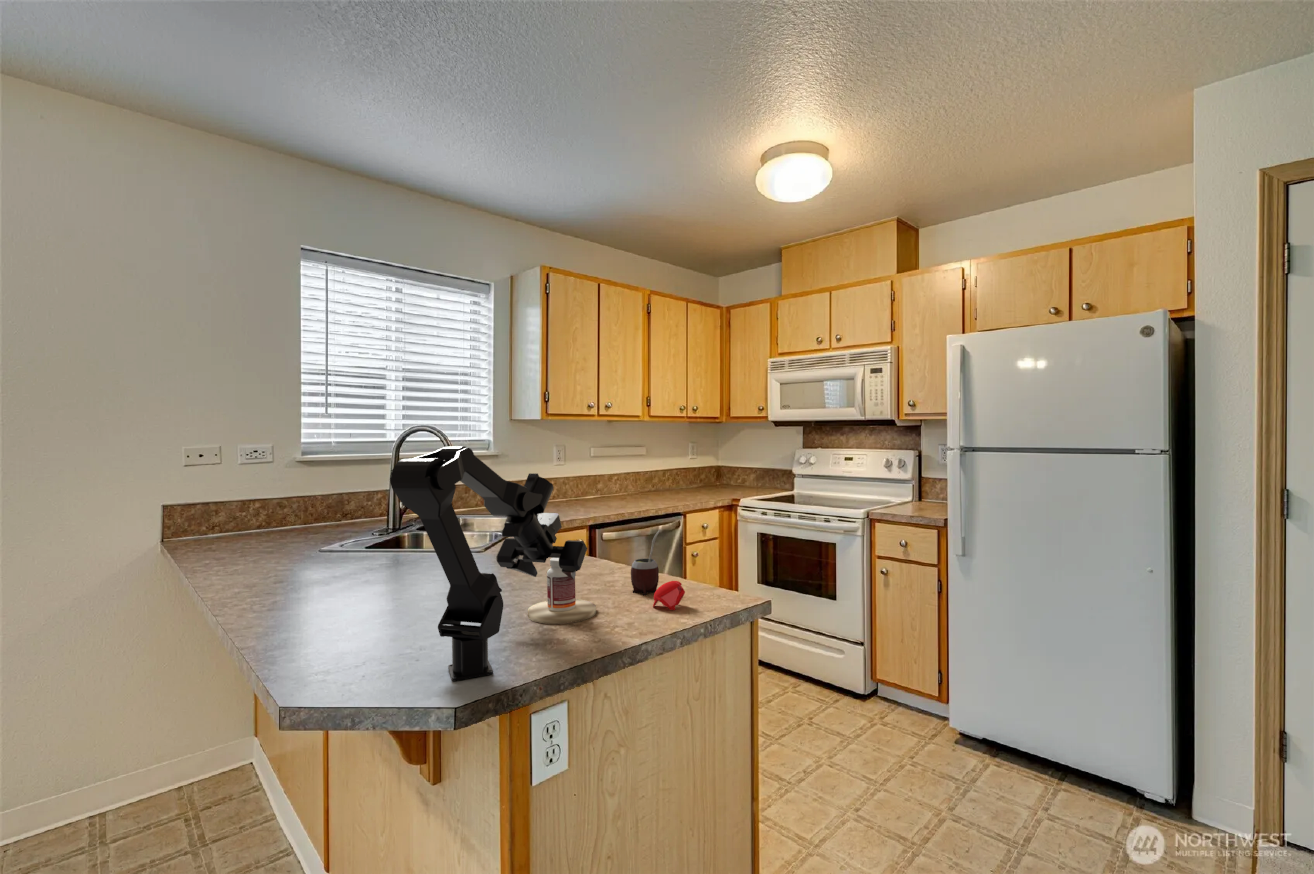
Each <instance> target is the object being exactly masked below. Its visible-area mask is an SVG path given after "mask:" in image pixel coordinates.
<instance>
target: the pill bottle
mask: <svg viewBox="0 0 1314 874" xmlns="http://www.w3.org/2000/svg"><path fill="white" fill-rule="evenodd" d="M549 565H550V568H549V569H548V570H547V572H546V592H547V593H546V594H547V595H546V596H547V598H546V599H547V600H546V601H547V602H548V609H549V610H551V611H568V610H571V609H573V608H574V607H575V605H576V599H577V598H576V578H575V579H571V578H570V577H568V576H567V575H566V574H564V573H563V572H562V569H561V568H560V566H559V558H550V559H549Z"/></svg>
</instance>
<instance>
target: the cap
mask: <svg viewBox="0 0 1314 874" xmlns="http://www.w3.org/2000/svg"><path fill="white" fill-rule="evenodd" d="M682 585H683V584H682V582H681V581H679V580H671V581H667V582H664V583H663V584H662V585H660V586H659V587H657V590H656V592H655V593H653V601H654V602H653V604H652V607H653V608H654V607H655V606H656V605H657V603H658V602H660V603H661V604H662V605H663V606H664V607H667V609H669V611H675V610H676V606H679V604H680V602H681V600H682V599H683V597H684V596H685V593H686V591H685V589H684V587H683V586H682Z"/></svg>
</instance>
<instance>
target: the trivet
mask: <svg viewBox="0 0 1314 874" xmlns="http://www.w3.org/2000/svg"><path fill="white" fill-rule="evenodd" d="M596 614H597V604H596V603H594V602H592V601H591V600H587V599H582V598H581V599H578V598H576V605H575V607H574V608H573V609H571V610H568V611H551V610H549V609H548V602H547V600H545V601H540V602H537V603H534V604H533V605H531V606H529V607H528V609H527V618H528V619H529V620H530V621H531V622H534V623H535V622H536V623H538V624H539V623H540V624H546V625H560V624H561V625H563V624H572V623H578V622H582V621H586V620H589V619H590V618H592V617H594V616H595V615H596Z"/></svg>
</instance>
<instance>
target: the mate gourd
mask: <svg viewBox="0 0 1314 874" xmlns="http://www.w3.org/2000/svg"><path fill="white" fill-rule="evenodd" d="M660 532H661V529H659V530H658V531H657V532H656V533H655V534H654V536H653V539H651V540H652V541H651V548H650V553H649V557H648V558H638V559H635V560H634V561H633V562H632V564H631V568H630V581H631V585H632V589H633V590H632V593H633V594H639V593H640V594H642V596H647V594H648V593H649V594H651V593H653V594H655V592H656V590H657V589H658V585H659V582H660V581H659V577H660V575H659V566H658V565H659V564H658V563H657V561H656V560H655V559H652V556H653V552H654V546H655V543H656V539H657V537H658V535H659V533H660Z"/></svg>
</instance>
